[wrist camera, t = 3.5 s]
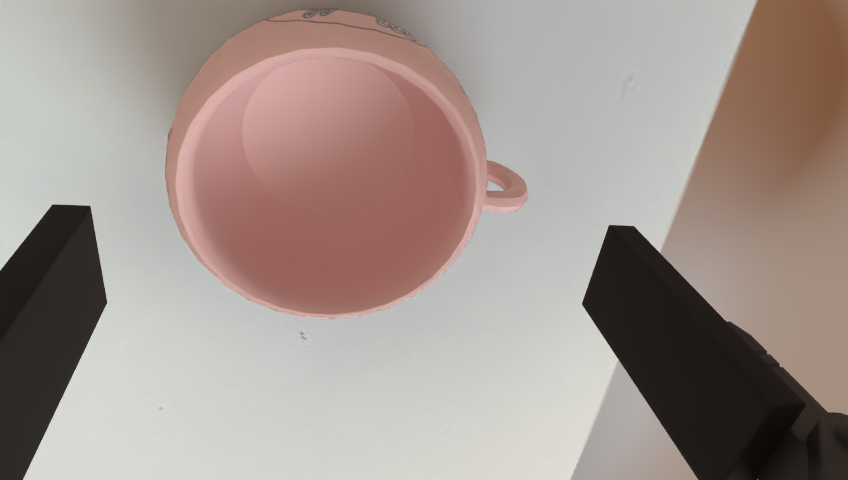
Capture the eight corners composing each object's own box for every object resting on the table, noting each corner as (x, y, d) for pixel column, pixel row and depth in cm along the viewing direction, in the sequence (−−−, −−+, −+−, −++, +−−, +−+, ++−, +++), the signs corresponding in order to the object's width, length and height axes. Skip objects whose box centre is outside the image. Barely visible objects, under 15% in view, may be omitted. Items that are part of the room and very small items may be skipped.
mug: (192, 228, 23) (160, 321, 18) (192, -36, 18) (148, -7, 13) (470, 251, 26) (508, 337, 21) (533, 28, 21) (601, 72, 16)
